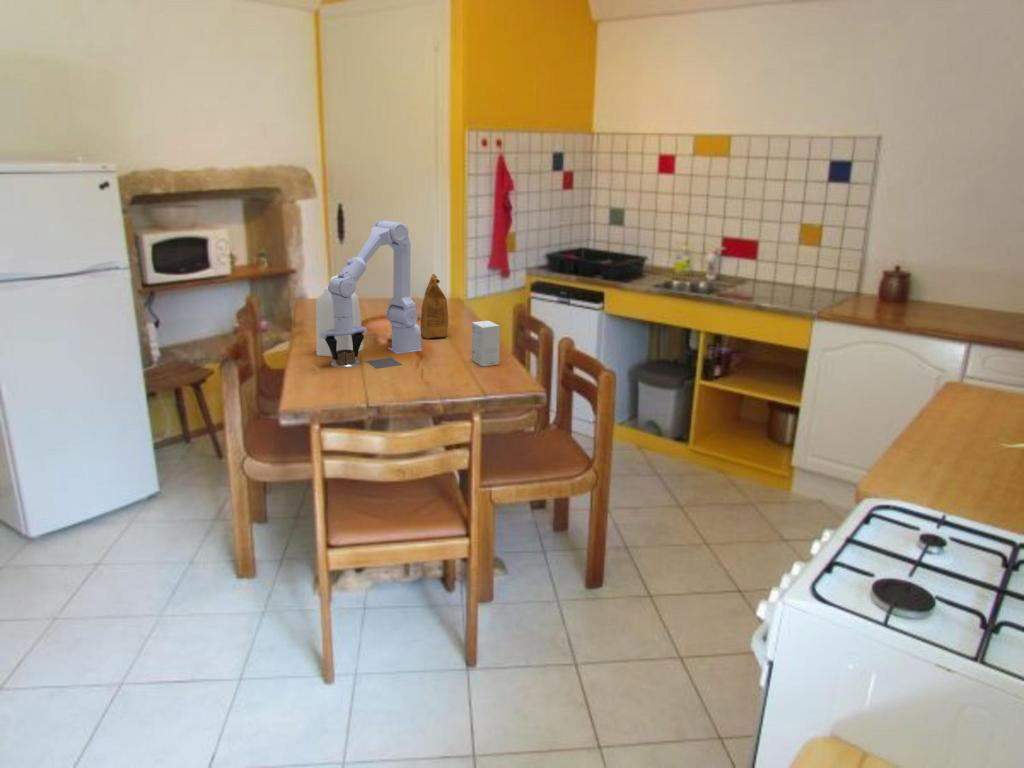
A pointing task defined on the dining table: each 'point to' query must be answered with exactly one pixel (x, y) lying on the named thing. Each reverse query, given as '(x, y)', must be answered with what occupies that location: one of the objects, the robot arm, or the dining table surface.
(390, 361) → the mat
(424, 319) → the coffee package
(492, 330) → the small box
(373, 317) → the dining table surface
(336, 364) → the hub
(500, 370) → the dining table surface
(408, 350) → the robot arm
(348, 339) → the milk
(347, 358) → the ring
